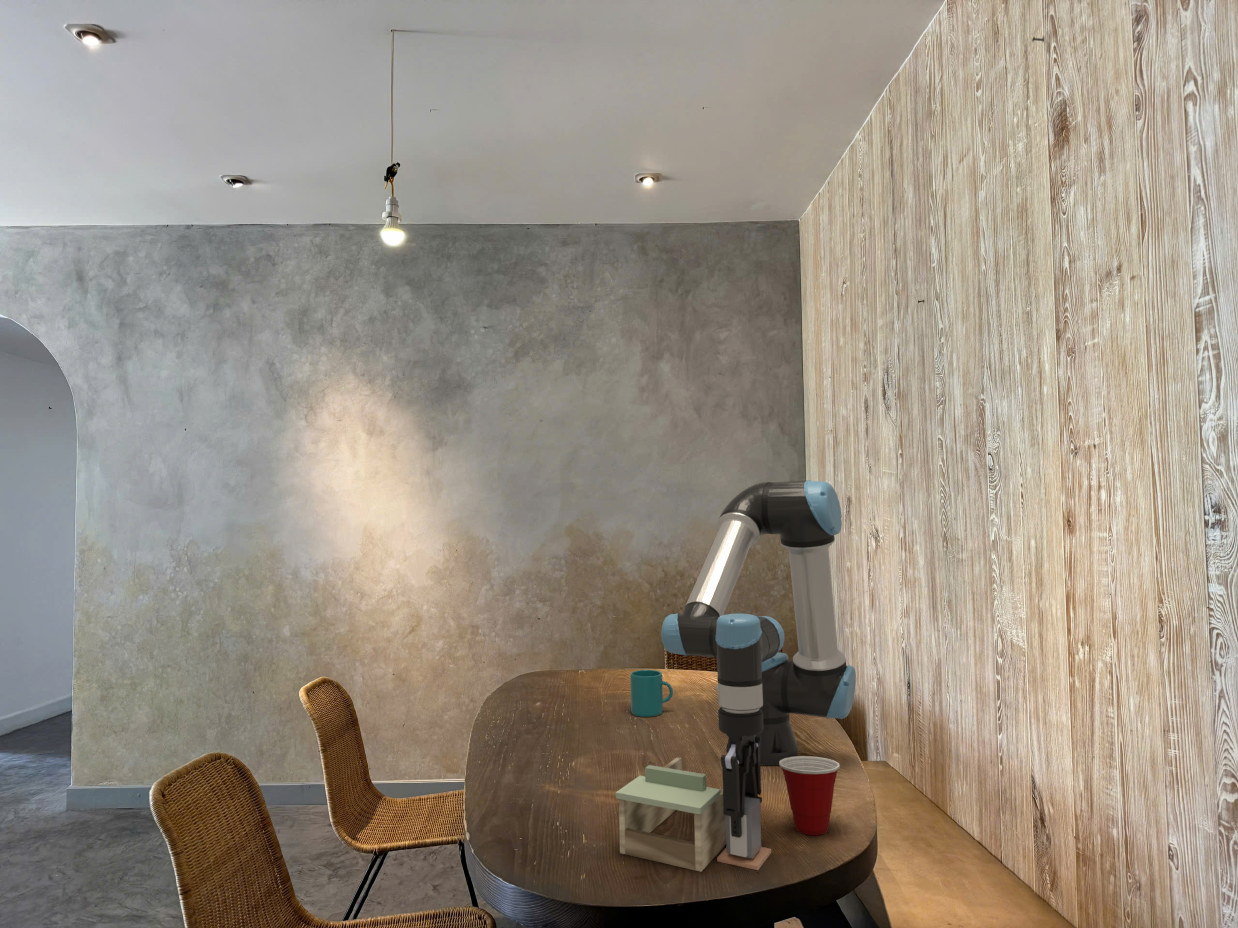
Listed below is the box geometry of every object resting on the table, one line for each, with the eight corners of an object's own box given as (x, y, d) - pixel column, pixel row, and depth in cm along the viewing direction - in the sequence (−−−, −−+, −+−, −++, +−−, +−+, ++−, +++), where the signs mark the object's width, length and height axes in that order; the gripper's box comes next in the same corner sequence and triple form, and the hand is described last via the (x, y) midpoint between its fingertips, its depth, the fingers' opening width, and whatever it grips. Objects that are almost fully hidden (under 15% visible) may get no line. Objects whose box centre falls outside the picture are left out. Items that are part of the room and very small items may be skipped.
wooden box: (678, 803, 152) (677, 756, 153) (750, 816, 145) (749, 768, 145) (619, 852, 131) (618, 799, 132) (701, 871, 124) (699, 814, 124)
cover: (639, 780, 139) (639, 761, 139) (720, 795, 132) (720, 774, 132) (615, 798, 131) (615, 777, 131) (700, 814, 124) (699, 792, 124)
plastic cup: (834, 815, 145) (832, 751, 145) (849, 841, 134) (846, 771, 134) (776, 815, 145) (774, 751, 146) (786, 841, 134) (784, 771, 135)
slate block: (736, 842, 132) (734, 794, 132) (761, 847, 130) (759, 798, 130) (726, 852, 128) (725, 803, 128) (752, 858, 126) (751, 808, 126)
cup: (674, 717, 213) (673, 676, 213) (631, 717, 213) (630, 677, 213) (672, 708, 222) (671, 669, 222) (631, 709, 222) (630, 669, 222)
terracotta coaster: (732, 844, 133) (732, 840, 134) (771, 852, 130) (771, 848, 130) (717, 861, 127) (717, 857, 127) (757, 870, 124) (757, 866, 124)
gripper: (737, 693, 139) (741, 824, 138) (699, 717, 124) (703, 865, 123) (777, 697, 136) (781, 832, 135) (743, 723, 120) (748, 875, 119)
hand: (744, 847), depth 129 cm, fingers closed on slate block, 4 cm apart
